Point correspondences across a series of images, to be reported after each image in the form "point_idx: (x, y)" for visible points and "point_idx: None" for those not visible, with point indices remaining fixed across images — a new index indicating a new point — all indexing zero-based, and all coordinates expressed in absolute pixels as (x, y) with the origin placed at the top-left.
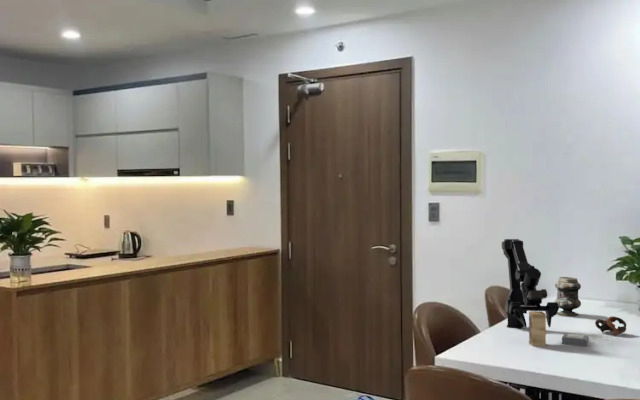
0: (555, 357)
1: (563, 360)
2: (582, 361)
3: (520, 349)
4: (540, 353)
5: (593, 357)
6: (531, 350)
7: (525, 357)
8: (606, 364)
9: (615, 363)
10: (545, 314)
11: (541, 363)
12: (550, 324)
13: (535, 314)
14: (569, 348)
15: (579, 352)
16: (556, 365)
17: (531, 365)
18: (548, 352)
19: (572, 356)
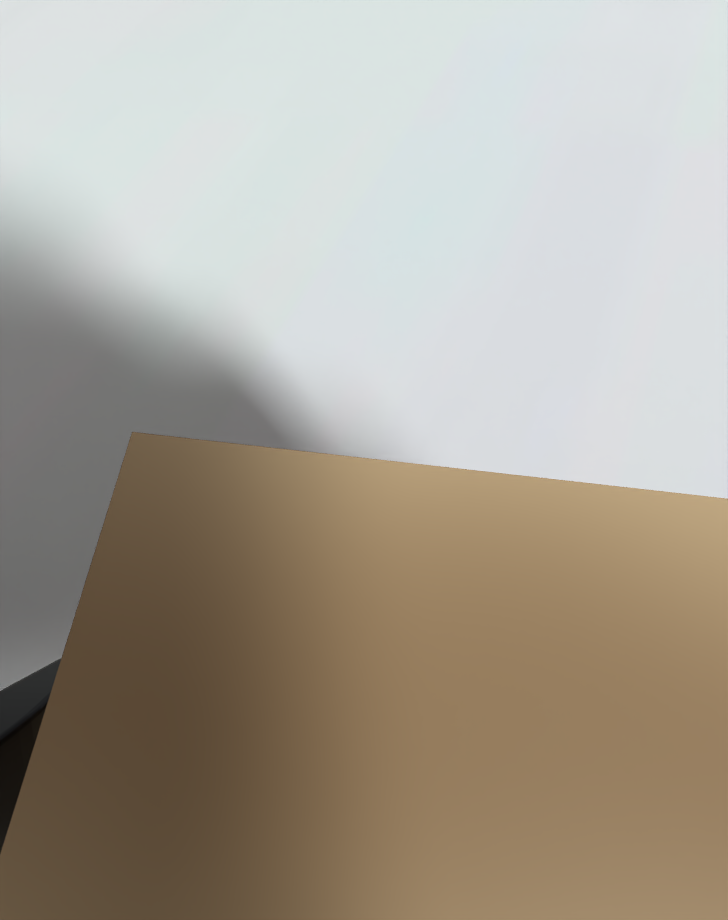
0: (416, 179)
1: (387, 102)
2: (239, 72)
3: (711, 496)
4: (513, 312)
5: (54, 157)
6: (579, 438)
7: (714, 198)
8: (103, 5)
9: (12, 19)
10: (150, 443)
11: (611, 50)
12: (38, 672)
13: (631, 503)
14: (43, 492)
15: (56, 317)
16: (508, 8)
17: (707, 18)
18: (406, 342)
19: (231, 196)
